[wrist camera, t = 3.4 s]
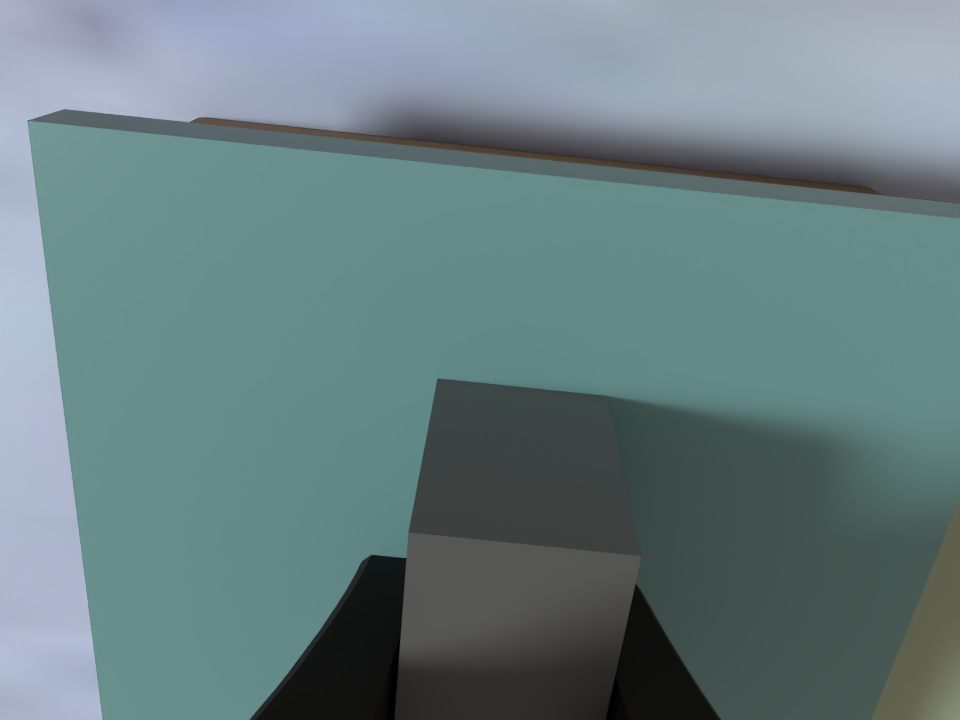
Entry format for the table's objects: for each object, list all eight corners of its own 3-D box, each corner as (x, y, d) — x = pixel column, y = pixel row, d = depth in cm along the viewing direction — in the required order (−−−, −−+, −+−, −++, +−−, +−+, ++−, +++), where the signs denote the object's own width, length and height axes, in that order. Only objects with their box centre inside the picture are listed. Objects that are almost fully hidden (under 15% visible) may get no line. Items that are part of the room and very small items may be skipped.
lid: (767, 784, 15) (873, 1126, 11) (163, 724, 15) (14, 1043, 11) (974, 186, 11) (1308, 343, 6) (110, 95, 11) (-190, 187, 6)
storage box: (723, 685, 17) (764, 824, 14) (220, 635, 17) (164, 764, 14) (869, 187, 13) (968, 247, 10) (199, 117, 13) (112, 157, 10)
